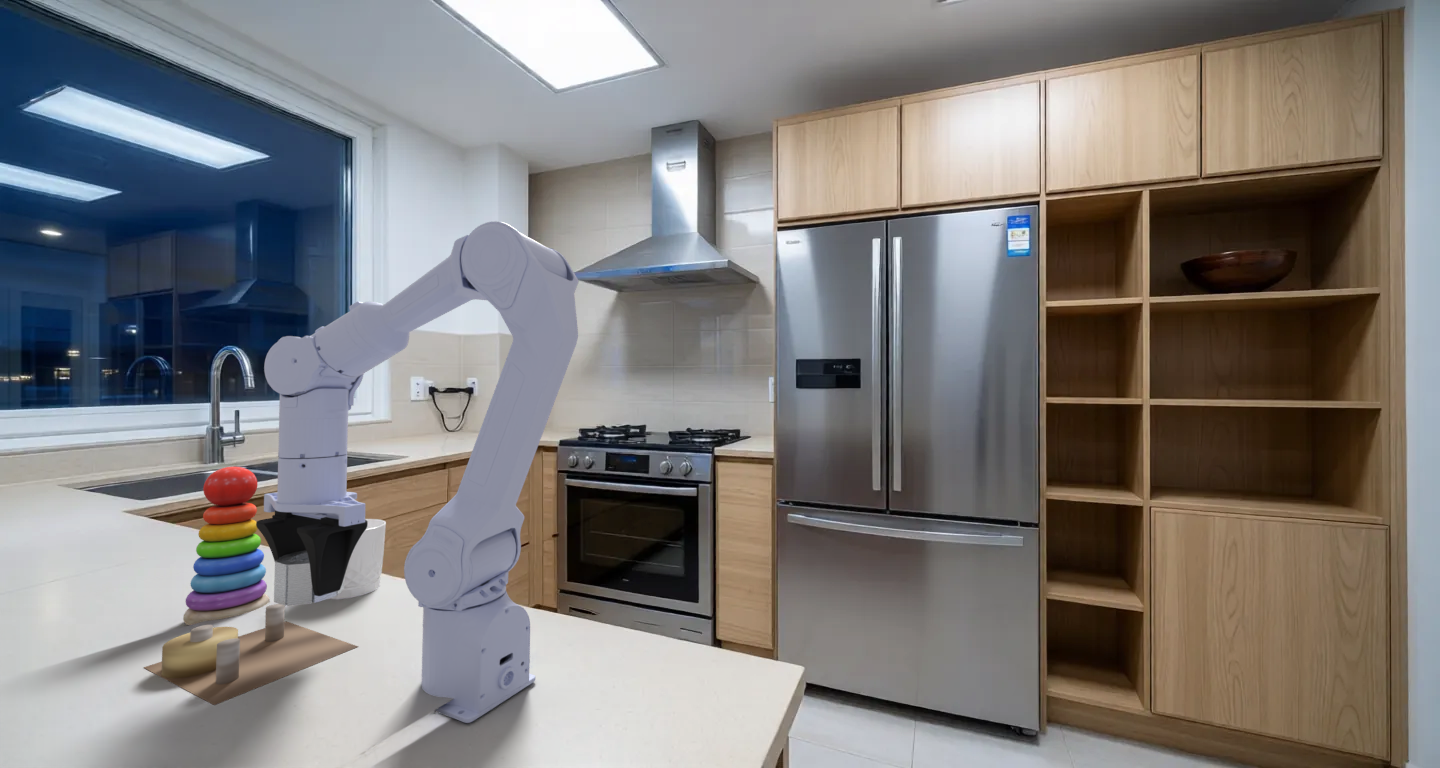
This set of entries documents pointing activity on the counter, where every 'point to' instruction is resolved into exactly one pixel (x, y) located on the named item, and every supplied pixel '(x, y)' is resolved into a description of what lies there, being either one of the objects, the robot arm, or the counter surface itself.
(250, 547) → the stacking toy
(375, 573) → the white cup
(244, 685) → the board
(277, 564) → the gear ring
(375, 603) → the counter surface
